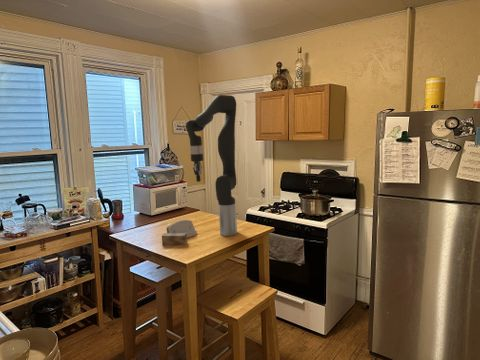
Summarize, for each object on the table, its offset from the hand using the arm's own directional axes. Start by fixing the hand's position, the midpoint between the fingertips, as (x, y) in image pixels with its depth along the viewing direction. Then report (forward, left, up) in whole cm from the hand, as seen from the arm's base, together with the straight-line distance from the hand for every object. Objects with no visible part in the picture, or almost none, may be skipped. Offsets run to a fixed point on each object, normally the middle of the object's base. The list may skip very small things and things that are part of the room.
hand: (198, 181), depth 199 cm
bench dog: (+6, +35, -27) cm, 45 cm away
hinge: (+6, +24, -27) cm, 37 cm away
